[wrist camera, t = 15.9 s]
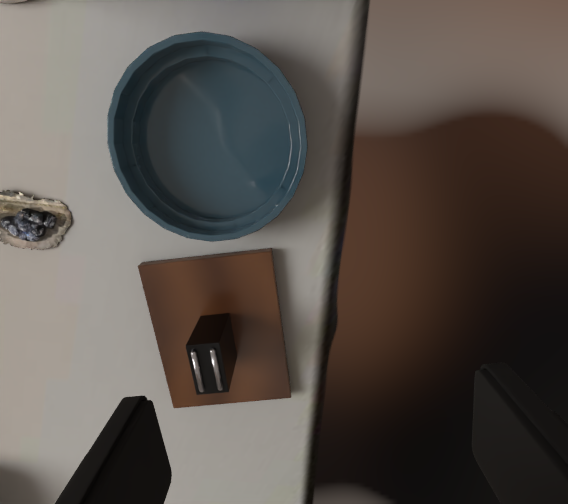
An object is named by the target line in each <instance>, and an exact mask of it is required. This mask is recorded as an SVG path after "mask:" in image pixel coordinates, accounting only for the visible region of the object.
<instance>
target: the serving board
mask: <svg viewBox="0 0 568 504" xmlns="http://www.w3.org/2000/svg"><path fill="white" fill-rule="evenodd" d="M138 269H139V272H140V276H141V280H142V284H143V288H144V292H145V296H146V300H147V304H148V308H149V312H150V316H151V320H152V324H153V328H154V332H155V336H156V340H157V344H158V347H159V351H160V355H161V359H162V363H163V367H164V371H165V375H166V379H167V383H168V387H169V391H170V395H171V399H172V403H173V407H174V408H181V407H192V406H203V405H214V404H226V403H237V402H248V401H259V400H270V399H281V398H291V386H290V379H289V372H288V364H287V357H286V350H285V342H284V335H283V328H282V320H281V313H280V306H279V298H278V291H277V284H276V276H275V269H274V262H273V254H272V249H271V248H268V249H259V250H250V251H241V252H232V253H223V254H214V255H205V256H196V257H187V258H178V259H169V260H160V261H151V262H142V263H141V264H140V265H139V266H138ZM224 313H229V314H230V319H231V325H232V330H233V336H234V341H235V347H236V352H237V360H236V364H235V369H234V373H233V377H232V381H231V385H230V389H229V392H224V393H213V394H203V395H197V394H196V390H195V386H194V381H193V377H192V372H191V368H190V364H189V359H188V355H187V351H186V344H187V342H188V340H189V338H190V336H191V334H192V332H193V330H194V328H195V326H196V324H197V322H198V320H199V318H200V316H204V315H214V314H224Z"/></svg>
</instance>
